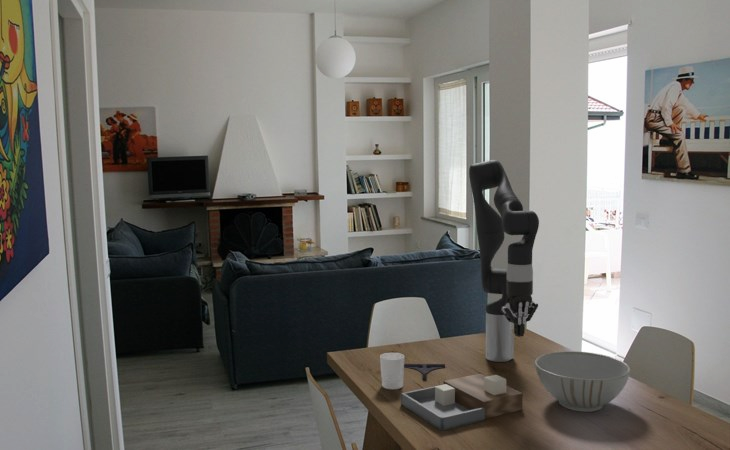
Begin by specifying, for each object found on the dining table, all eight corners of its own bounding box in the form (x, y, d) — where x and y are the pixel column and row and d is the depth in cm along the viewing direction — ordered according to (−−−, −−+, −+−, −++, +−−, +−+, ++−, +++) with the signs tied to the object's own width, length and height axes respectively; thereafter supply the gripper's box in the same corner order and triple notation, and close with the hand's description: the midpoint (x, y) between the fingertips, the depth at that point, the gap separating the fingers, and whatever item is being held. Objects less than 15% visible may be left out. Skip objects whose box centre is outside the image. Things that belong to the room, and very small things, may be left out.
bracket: (403, 381, 217) (403, 373, 217) (404, 367, 232) (404, 360, 231) (446, 382, 216) (446, 374, 215) (445, 368, 230) (445, 360, 230)
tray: (441, 395, 202) (441, 385, 201) (484, 420, 183) (484, 408, 182) (401, 404, 195) (401, 393, 195) (441, 430, 176) (441, 418, 176)
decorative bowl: (581, 429, 176) (582, 386, 174) (515, 397, 199) (515, 359, 198) (650, 410, 188) (651, 369, 187) (580, 382, 211) (580, 346, 210)
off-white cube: (496, 387, 194) (496, 374, 194) (506, 392, 190) (506, 379, 190) (484, 390, 192) (484, 377, 192) (493, 395, 188) (493, 381, 188)
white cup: (407, 383, 214) (407, 353, 213) (400, 391, 206) (400, 360, 205) (384, 380, 216) (384, 351, 215) (377, 388, 209) (376, 358, 208)
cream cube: (445, 384, 197) (435, 386, 196) (454, 388, 194) (443, 390, 192) (446, 398, 198) (435, 400, 196) (454, 403, 194) (443, 405, 192)
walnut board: (480, 388, 207) (480, 373, 207) (522, 409, 190) (522, 393, 189) (443, 396, 201) (443, 380, 201) (483, 419, 183) (483, 401, 183)
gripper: (528, 274, 198) (527, 330, 200) (493, 278, 192) (493, 336, 194) (545, 278, 191) (545, 336, 193) (510, 282, 185) (509, 342, 187)
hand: (519, 335), depth 194 cm, fingers closed
